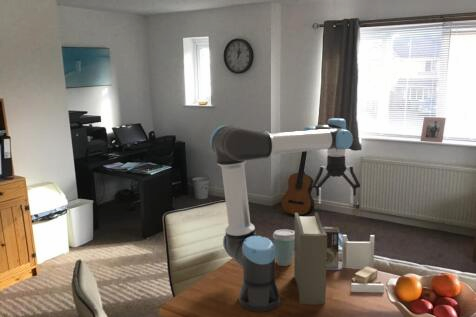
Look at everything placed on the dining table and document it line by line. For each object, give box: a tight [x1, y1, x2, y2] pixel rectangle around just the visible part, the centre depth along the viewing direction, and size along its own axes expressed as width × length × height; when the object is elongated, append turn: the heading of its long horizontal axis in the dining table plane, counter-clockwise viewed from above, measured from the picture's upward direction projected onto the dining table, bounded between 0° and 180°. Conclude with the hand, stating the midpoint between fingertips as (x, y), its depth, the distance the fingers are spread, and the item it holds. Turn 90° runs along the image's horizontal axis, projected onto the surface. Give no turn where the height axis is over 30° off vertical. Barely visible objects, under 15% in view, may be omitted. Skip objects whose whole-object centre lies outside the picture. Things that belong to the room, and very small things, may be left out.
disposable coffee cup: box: [272, 228, 295, 267], centre depth 182 cm, size 11×11×15 cm
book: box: [293, 212, 327, 305], centre depth 158 cm, size 22×9×28 cm, turn 178°
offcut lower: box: [350, 276, 382, 284], centre depth 162 cm, size 10×5×3 cm, turn 98°
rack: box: [341, 234, 385, 293], centre depth 166 cm, size 13×20×15 cm, turn 175°
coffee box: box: [322, 225, 340, 267], centre depth 179 cm, size 9×6×16 cm
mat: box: [326, 262, 342, 271], centre depth 181 cm, size 10×10×1 cm
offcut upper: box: [354, 267, 378, 283], centre depth 163 cm, size 9×5×3 cm, turn 133°
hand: (335, 202), depth 179 cm, fingers open, 13 cm apart
